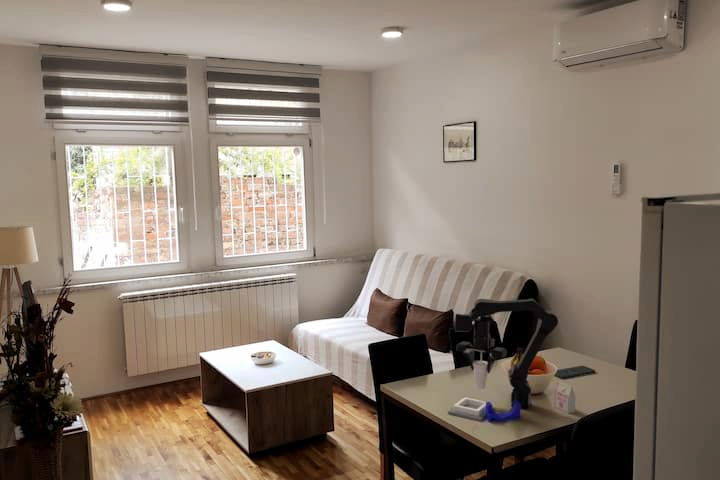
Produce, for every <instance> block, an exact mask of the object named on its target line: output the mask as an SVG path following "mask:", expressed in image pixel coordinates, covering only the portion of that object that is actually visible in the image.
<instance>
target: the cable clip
mask: <svg viewBox="0 0 720 480" xmlns="http://www.w3.org/2000/svg"><path fill="white" fill-rule="evenodd" d="M485 402H486V417H485V419H486V420H487V422H488V423H506V421H513V420H514V421H516V420H518V421H519V420H521V412H522V411H521V410H522V408H521V404H520V403H519V402H518V401H514V404H513V407H512V406H511V408H510V409H509V410H508V411H505V412H503V413H500V412H498V411H495V409H494V410H493V408H492V407H493V404H492V403H491V401H485Z"/></svg>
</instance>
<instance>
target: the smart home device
mask: <svg viewBox="0 0 720 480" xmlns="http://www.w3.org/2000/svg"><path fill="white" fill-rule="evenodd" d="M556 370H557V372H556V374H555V376H554V377H555V378H557V379H560V380H565V379H570V377H572V378H576V377H575V376H577V377H581V376H580V375H582V376H585V375H584V374H588V375H591V374H590V373H593V374H596V369H593V368H591V367H588V366H585V365H578V366H573V367H571V366H570V367H566V368H560V369H556Z"/></svg>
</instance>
